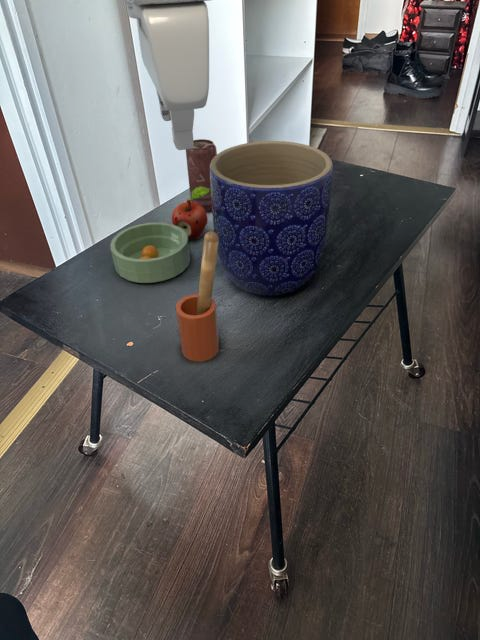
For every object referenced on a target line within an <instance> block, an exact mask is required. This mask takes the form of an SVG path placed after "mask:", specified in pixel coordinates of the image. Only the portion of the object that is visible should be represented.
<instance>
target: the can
mask: <svg viewBox="0 0 480 640" xmlns="http://www.w3.org/2000/svg"><path fill="white" fill-rule="evenodd" d="M193 142H194V145H193V147H192V148H191V149H186V150H185V158H186V168H187V177H188V186H189V187H188V188H189V196H190V198H189V199H191V195H192V191H193V190H194V189H195V188H196V187H200V186H201V187H205V188H209V189H210V190H209V193H207V194H206V195H204V196H203V197H200V198H195V199H192V200H191V201H190V202H197V203H199V204H200V205H202V206H203V207H204V209H205V211H206V214H207V213H212V203H211V188H210V163H211V161H212V159H213V158H214V157H215V156H216V155H217V154H218V153H217V146H216V145H215V143H214V141H212V140H211V139H205V138H203V139H199V138H198V139H193Z"/></svg>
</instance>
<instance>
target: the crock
mask: <svg viewBox="0 0 480 640" xmlns="http://www.w3.org/2000/svg"><path fill="white" fill-rule="evenodd" d="M197 302H198V293H195V294H189V295H186V296H184V297H182V298H181V299H179V300H178V301H177V303H176V305H175V314H176V320H177V327H178V334H179V340H180V347H181V353H182V355H183V357H185V358H186V359H187V360H188V361H192V362H198V363H201V362H206V361H209V360H211V359H213V358H214V357H216V356H217V354H218V353H219V350H220V340H219V327H218V316H217V315H218V314H217V313H218V312H217V304H216V301H215V300H214V299H213V297H212V298H211V306H210V309H209V310H208V311H207V312H206V313H203V314H201V315H196V312H197Z"/></svg>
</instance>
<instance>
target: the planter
mask: <svg viewBox="0 0 480 640" xmlns="http://www.w3.org/2000/svg"><path fill="white" fill-rule="evenodd" d="M333 167H334V166H333V161H332V158H331V157H330V156H329V155H328V154H327V153H326V152H324V151H322V150H320V149H319V148H317V147H314V146H311V145H308V144H305V143H300V142H294V141H285V140H284V141H283V140H262V141H252V142H247V143H240V144H237V145H234V146H230V147H228V148H226V149H224V150H222V151H220V152H219V153H217V155H216V156H215V157H214V158H213V159H212V161H211V163H210V188H211V203H212V211H211V213H212V222H213V232H216V233H217V234H218V236H219V242H218V250H217V257H218V261H219V264H220V266H221V268H222V270H223V272H224V273H225V274H226V276H227V277H228V278H229V280H230V281H231V282H232V283H233V284H235V285H236V286H237V287H238V288H240V289H242V290H244V291H246V292H248V293H251V294H253V295H258V296H265V297H266V296H267V297H268V296H269V297H270V296H271V297H273V296H282V295H286V294H290V293H292V292H294V291H296V290H298V289H300V288H301V287H303V286H304V285H305V284H306V283H307V282H308V281H309V280H310V279H311V278H312V277H313V276H314V274H315V273H316V271H317V269H319V266H320V263H321V260H322V257H323V254H324V248H325V243H326V237H327V232H328V223H329V215H330V206H331V197H332V196H331V195H332V184H333V170H334V169H333Z"/></svg>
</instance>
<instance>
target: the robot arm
mask: <svg viewBox="0 0 480 640" xmlns="http://www.w3.org/2000/svg"><path fill="white" fill-rule="evenodd" d="M207 1H208V2H209V1H211V0H125V5H126V13H127V16H128V17H129V18H131V19H134V20H135V19H136V26H137V33H138V40H139V47H140V55H141V59H142V63H143V66H144V68H145V69H146V71H147V73H148V75H149V78H150V79H151V81H152V83H153V85H154V88H155V90H156V95H157V99H158V105H159V112H160V116H161V118H162V120H163V121H165V122H171V132H172V141H173V144H174V147H175V148H176V150H178V151H186V149H191V148H192V147H193V145H194V142H193V140H194V133H193V132H194V131H193V130H194V122H195V121H194V120H195V110H199V109H203V108H205V107H206V106H207V102H208V97H209V90H210V20H209V19H210V18H209V9H208V6H207V3H206V2H207Z"/></svg>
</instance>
